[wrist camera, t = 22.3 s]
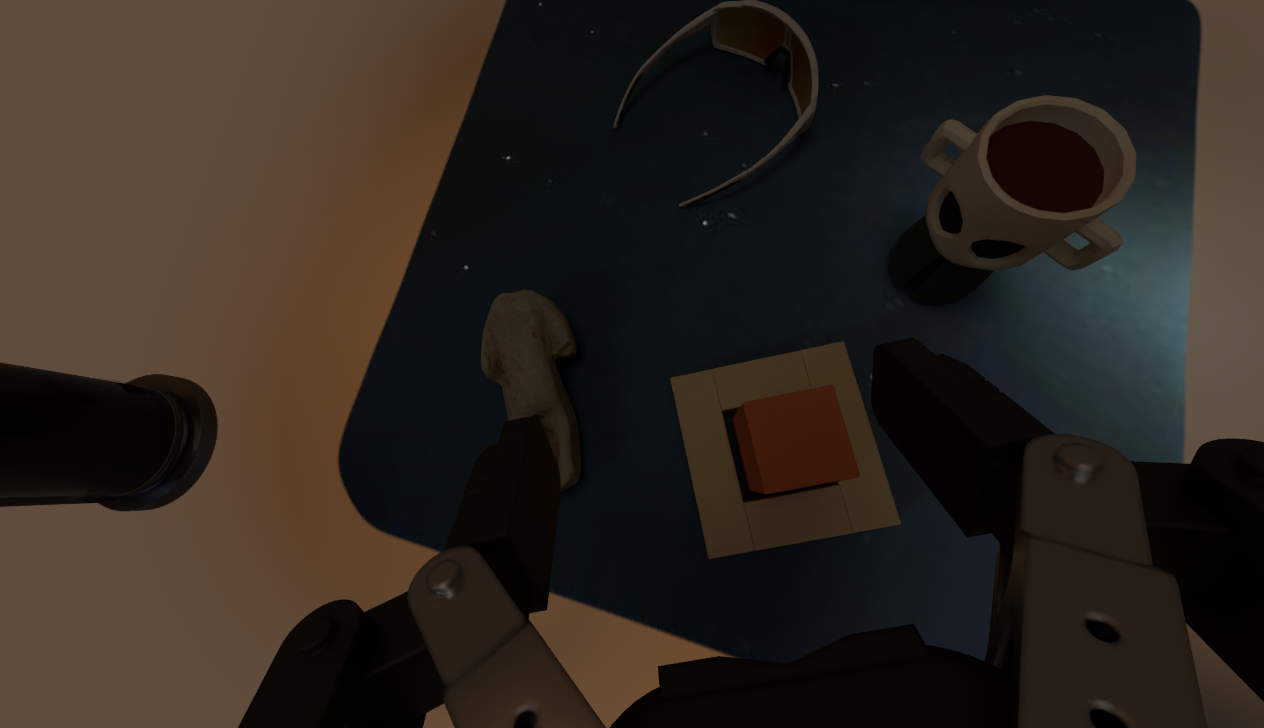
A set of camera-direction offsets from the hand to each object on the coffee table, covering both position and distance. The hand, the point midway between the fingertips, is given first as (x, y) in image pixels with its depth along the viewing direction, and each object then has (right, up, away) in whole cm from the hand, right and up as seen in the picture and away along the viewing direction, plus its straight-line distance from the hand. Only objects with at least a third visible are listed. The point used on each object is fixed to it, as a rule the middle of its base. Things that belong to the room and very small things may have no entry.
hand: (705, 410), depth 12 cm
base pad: (+8, -5, +23) cm, 25 cm away
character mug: (+21, +8, +25) cm, 33 cm away
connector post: (+8, -5, +23) cm, 25 cm away
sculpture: (-8, -1, +26) cm, 27 cm away
